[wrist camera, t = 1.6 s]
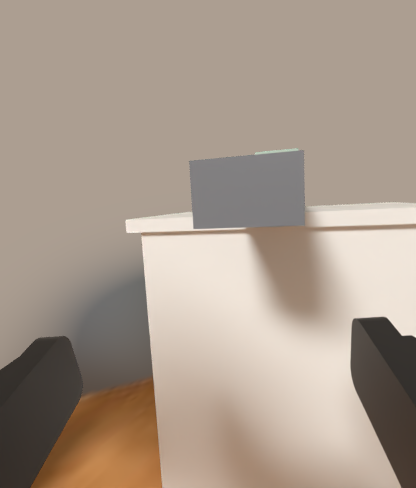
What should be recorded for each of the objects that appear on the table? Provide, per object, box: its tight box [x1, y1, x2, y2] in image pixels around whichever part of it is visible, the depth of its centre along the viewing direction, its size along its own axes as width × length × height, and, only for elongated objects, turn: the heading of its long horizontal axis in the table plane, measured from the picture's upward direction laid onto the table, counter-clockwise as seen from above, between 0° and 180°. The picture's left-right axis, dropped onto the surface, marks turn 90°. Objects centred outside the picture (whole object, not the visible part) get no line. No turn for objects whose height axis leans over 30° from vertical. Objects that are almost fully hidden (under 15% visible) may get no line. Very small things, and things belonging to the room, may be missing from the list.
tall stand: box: [125, 202, 416, 488], centre depth 30 cm, size 22×14×32 cm, turn 75°
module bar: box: [189, 148, 305, 229], centre depth 22 cm, size 4×24×6 cm, turn 165°
